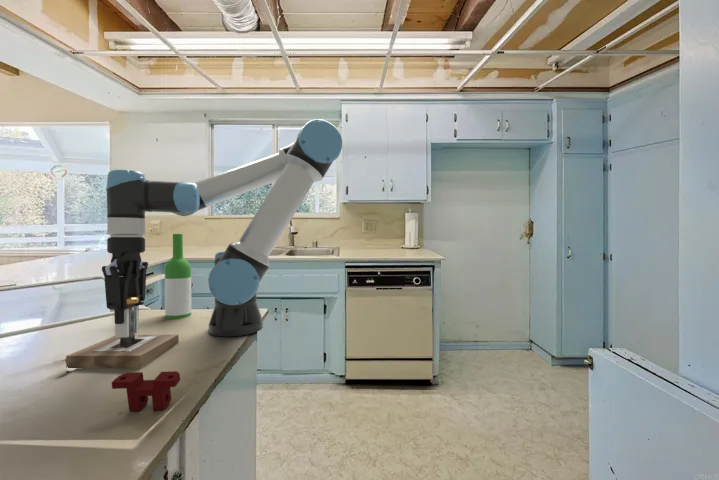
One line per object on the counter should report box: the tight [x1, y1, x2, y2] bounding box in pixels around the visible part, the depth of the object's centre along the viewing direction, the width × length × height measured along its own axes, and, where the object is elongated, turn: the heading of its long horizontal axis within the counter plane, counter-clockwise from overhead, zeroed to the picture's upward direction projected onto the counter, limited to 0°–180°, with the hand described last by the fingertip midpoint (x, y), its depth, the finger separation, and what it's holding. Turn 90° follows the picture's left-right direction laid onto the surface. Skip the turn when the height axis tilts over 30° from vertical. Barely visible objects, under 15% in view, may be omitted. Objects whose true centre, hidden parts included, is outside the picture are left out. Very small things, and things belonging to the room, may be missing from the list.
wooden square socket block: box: [65, 333, 180, 370], centre depth 83 cm, size 16×16×4 cm
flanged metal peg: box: [120, 297, 139, 347], centre depth 83 cm, size 5×5×11 cm
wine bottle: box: [164, 233, 192, 319], centre depth 116 cm, size 8×8×30 cm
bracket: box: [110, 370, 181, 412], centre depth 59 cm, size 3×6×10 cm
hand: (127, 334), depth 83 cm, fingers closed on flanged metal peg, 3 cm apart
